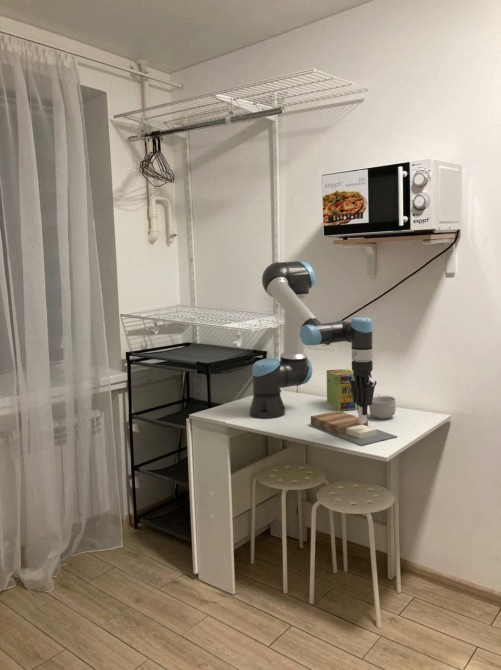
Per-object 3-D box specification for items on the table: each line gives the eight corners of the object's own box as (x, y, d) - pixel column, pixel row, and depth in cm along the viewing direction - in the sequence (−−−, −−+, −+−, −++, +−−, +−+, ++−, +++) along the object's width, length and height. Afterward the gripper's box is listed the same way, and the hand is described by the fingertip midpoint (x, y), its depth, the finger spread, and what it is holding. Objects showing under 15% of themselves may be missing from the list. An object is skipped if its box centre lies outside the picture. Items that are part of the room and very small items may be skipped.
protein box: (340, 411, 248) (340, 376, 246) (326, 403, 263) (326, 370, 261) (362, 409, 251) (362, 374, 249) (347, 401, 266) (347, 368, 264)
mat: (310, 426, 228) (310, 425, 228) (344, 419, 237) (344, 418, 237) (361, 446, 203) (361, 444, 203) (397, 437, 211) (397, 436, 211)
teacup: (395, 421, 231) (395, 402, 230) (367, 420, 234) (367, 401, 233) (396, 412, 244) (396, 394, 243) (370, 411, 247) (369, 393, 246)
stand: (310, 423, 231) (310, 416, 230) (338, 417, 238) (338, 410, 237) (339, 434, 215) (339, 426, 215) (368, 427, 222) (367, 420, 222)
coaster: (345, 433, 217) (345, 428, 216) (362, 429, 220) (362, 424, 220) (360, 438, 210) (360, 433, 209) (376, 434, 214) (376, 429, 213)
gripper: (342, 358, 215) (343, 420, 218) (366, 363, 203) (366, 428, 206) (358, 356, 218) (358, 417, 221) (382, 361, 207) (382, 425, 210)
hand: (362, 422), depth 214 cm, fingers closed
